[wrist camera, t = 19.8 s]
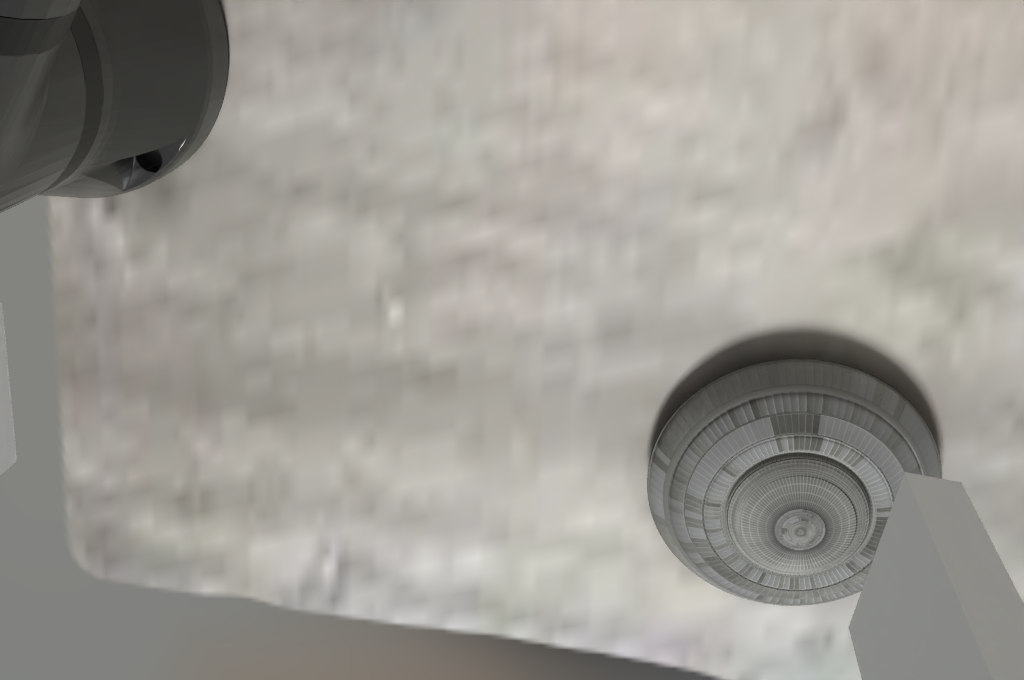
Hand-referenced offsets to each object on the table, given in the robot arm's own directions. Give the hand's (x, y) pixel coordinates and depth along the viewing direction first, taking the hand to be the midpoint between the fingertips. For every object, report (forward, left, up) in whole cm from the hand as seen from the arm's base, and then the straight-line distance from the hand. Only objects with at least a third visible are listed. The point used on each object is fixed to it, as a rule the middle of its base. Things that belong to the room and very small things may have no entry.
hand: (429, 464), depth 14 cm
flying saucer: (+14, -19, -35) cm, 42 cm away
